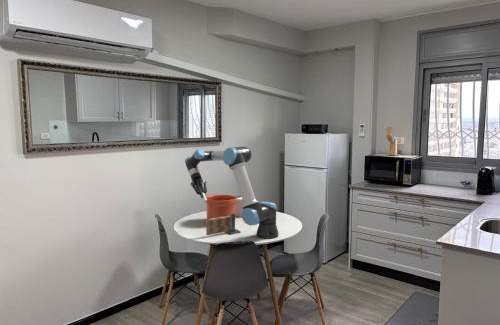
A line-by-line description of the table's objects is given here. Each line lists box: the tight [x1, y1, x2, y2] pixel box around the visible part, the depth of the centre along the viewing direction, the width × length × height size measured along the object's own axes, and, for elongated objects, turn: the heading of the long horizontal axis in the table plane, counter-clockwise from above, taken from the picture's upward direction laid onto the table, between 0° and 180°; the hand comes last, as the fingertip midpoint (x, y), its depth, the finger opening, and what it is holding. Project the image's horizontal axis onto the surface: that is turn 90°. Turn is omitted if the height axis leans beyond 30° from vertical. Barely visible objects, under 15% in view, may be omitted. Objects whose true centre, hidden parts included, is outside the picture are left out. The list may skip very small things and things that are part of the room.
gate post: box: [225, 213, 241, 235], centre depth 257 cm, size 8×8×14 cm
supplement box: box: [235, 196, 244, 218], centre depth 304 cm, size 9×9×15 cm
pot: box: [204, 194, 238, 219], centre depth 286 cm, size 25×25×19 cm
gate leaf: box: [205, 216, 231, 236], centre depth 250 cm, size 18×2×10 cm, turn 125°
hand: (205, 201), depth 262 cm, fingers closed
